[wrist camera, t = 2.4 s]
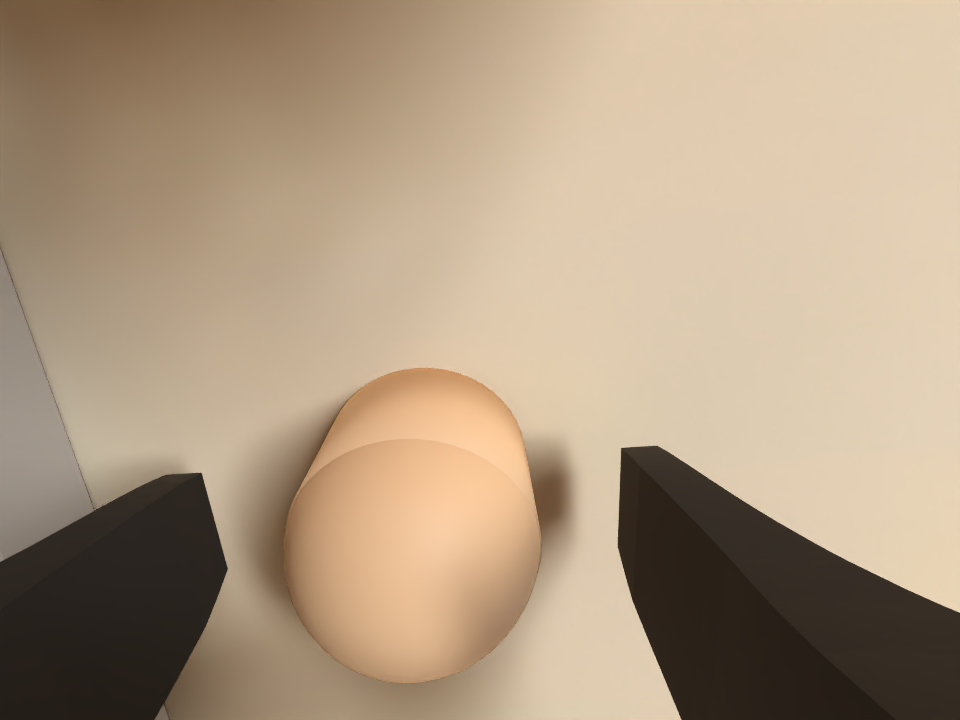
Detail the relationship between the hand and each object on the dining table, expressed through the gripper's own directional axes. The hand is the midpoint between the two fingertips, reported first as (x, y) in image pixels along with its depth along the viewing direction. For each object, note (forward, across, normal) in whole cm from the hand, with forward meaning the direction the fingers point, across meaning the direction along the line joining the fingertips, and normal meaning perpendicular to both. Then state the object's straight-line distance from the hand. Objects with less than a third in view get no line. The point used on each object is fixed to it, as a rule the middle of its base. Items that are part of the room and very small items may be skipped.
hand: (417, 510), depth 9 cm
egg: (+2, 0, 0) cm, 2 cm away
